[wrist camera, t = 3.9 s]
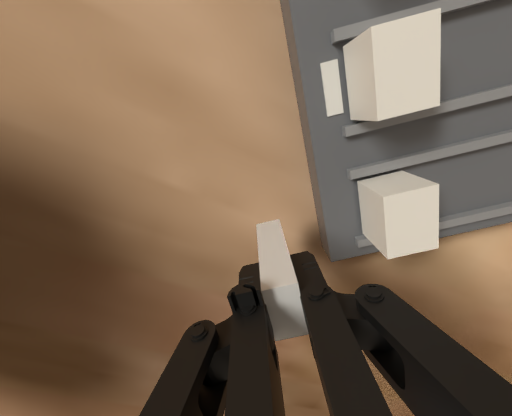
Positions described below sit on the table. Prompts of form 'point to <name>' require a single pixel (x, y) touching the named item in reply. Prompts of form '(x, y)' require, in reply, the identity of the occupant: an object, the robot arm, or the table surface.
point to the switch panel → (406, 116)
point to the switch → (400, 213)
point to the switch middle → (394, 67)
